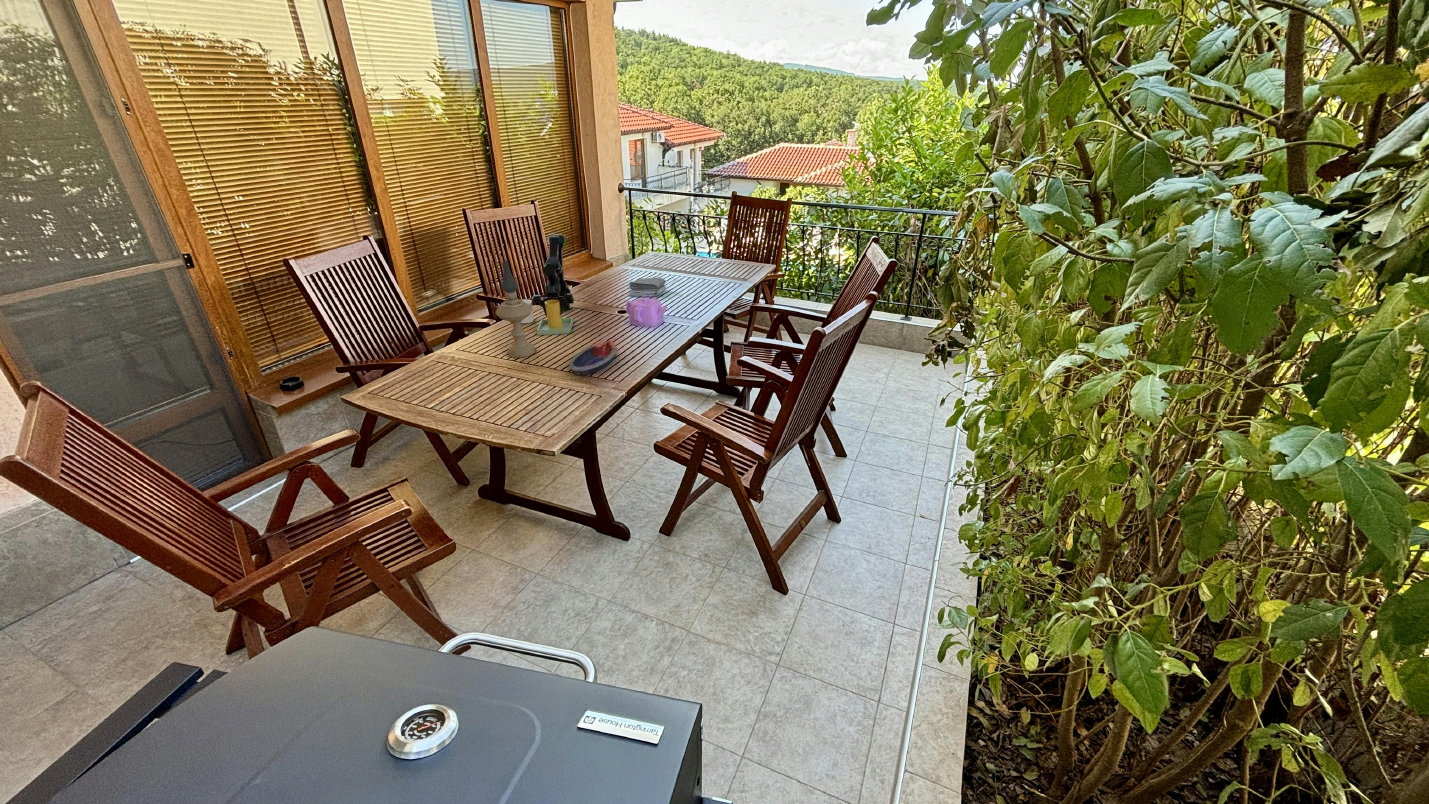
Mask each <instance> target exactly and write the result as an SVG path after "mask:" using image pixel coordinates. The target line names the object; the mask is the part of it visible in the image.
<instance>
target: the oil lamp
mask: <svg viewBox="0 0 1429 804" xmlns="http://www.w3.org/2000/svg"><path fill="white" fill-rule="evenodd" d="M501 263H502V264H501V265H502V269H503V276H502V281H501V284H500V289H501V290H502V291H504V292H505V296H506V298H505V299H504V301H503V302H501V303H500V305H499V306H498V307H497V309H496V311H495V315H497V317H498V318H499V319H501V320H504V321H505V322H509V323H510V324H512V326H513V327H512V330H511V332H510V335H511V336H512V338H513V343H512V344H511V345H510V346H509V347H508V355H509V356H510V357H511V358H525V357H528V356H531V355H533V354H534V353H535V351H536V350H535V346H534V344H533V343H531V342H529V341H527V340H526V336H525V335H526V330H525V329H524V328H523V327H522V326H521V324H522V323H521V321H522V320H523V319H525V318H526V317H528V316H529V315H530V314H531V312H532V307H533V306H532V307H531V306H530V305H529V304H527V303H525V302H524V301H523V300H524V299H519V298H518V297H517V295H518V294H517V290H518V288H519V283H518V282H517V280H516V279H515V278H514V276H513V274H512V272H511V269H510V264H509V261H508V260H504V261H502V262H501Z"/></svg>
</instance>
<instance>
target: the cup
mask: <svg viewBox="0 0 1429 804" xmlns="http://www.w3.org/2000/svg"><path fill="white" fill-rule="evenodd" d="M545 308H546V314H547V316H546V319H547V320H548V327H549V329H559V328H563V324H562V318H563V317H562V315H560V303H559V300H548V301H545Z"/></svg>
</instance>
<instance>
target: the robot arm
mask: <svg viewBox="0 0 1429 804" xmlns="http://www.w3.org/2000/svg"><path fill="white" fill-rule="evenodd" d="M566 243H567V239H566V236H565V235H564V234H563V233H557V234H556V233H555V234H550V235H549V236H547V244H548V245H549V246H548V247H549V249H548V251H549V252H548V253H549V254H548V258H547V260H546V261H545V265H544V266H543V268H542V274H543V276H544V278H545V280H546V285H545V286H544V293H545V296H546V297H544V296H542V295H541V294H535V295H534V294H533V295H532V297H531V299H532V300H531V301H532V304H534V306H537V307H538V306H539V307H541V308H542V310H543V312H544V316H545V317H547V314H546V308H545V301H548V300H559V303H560V315H561V316H562V315H563V314H564V312H567V311H569V310H572V309H573V307H572V306H571V305H573V304H574V303H575V299H574V295H573V294H572V293H571V289H570V287H569V286H568V284H567V282H566V281H565V275H564V272H565V271H564V256H563V252H564V251H565V248H566Z"/></svg>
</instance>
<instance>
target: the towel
mask: <svg viewBox="0 0 1429 804" xmlns="http://www.w3.org/2000/svg"><path fill="white" fill-rule="evenodd" d="M666 281H667V280H665V278H662V277H647V278H646V277H645V278H642V277H640V278H637V279H636V280H634V281H629V285H628V286H629V287H628V288H629V289H630V291H629V293H628V296H630V297H641V298H645V297H646V298H651V297H652V298H654V297H658V296H659V295H660V294H662V293H663V292H664V291H665V290H666V289H667V287H666V283H667V282H666Z"/></svg>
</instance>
